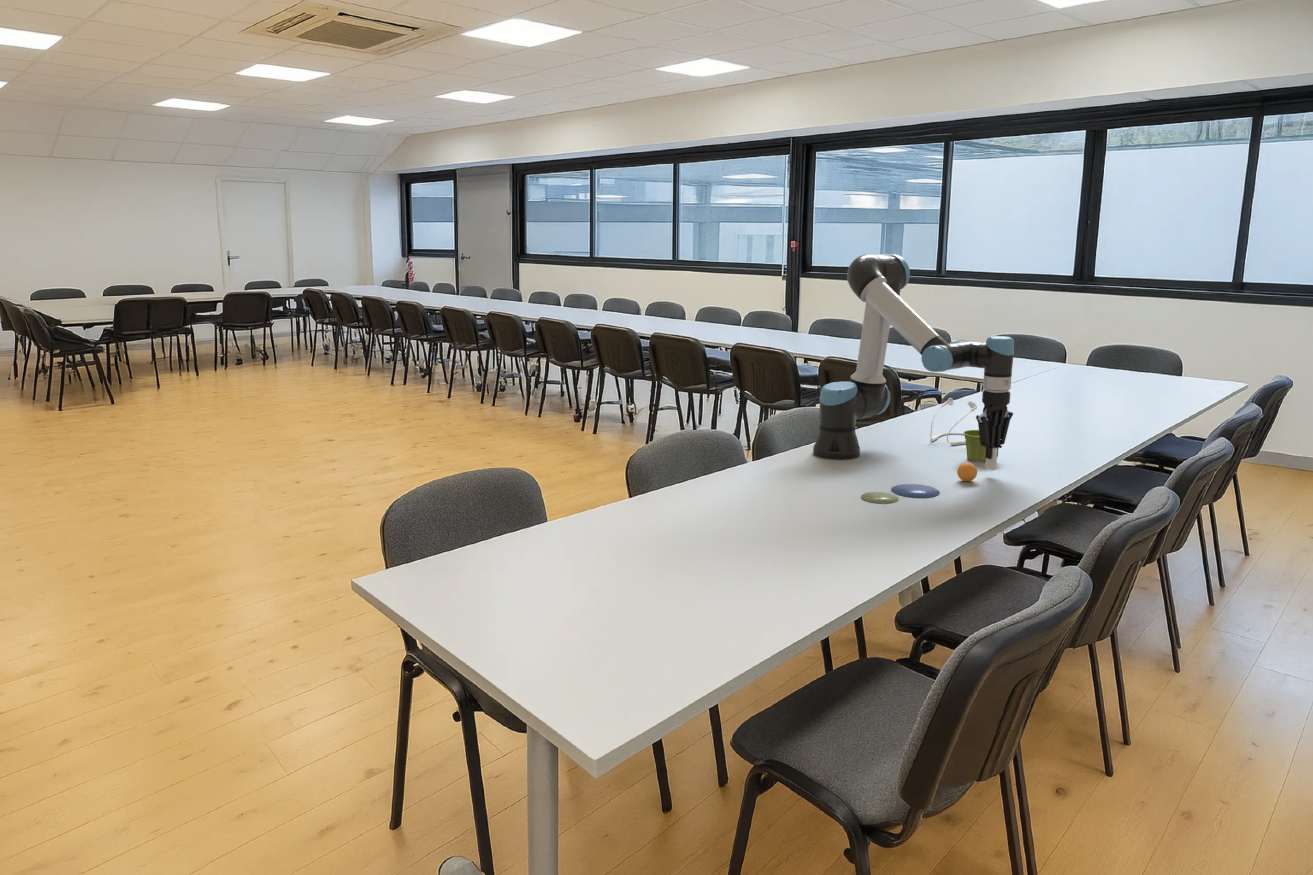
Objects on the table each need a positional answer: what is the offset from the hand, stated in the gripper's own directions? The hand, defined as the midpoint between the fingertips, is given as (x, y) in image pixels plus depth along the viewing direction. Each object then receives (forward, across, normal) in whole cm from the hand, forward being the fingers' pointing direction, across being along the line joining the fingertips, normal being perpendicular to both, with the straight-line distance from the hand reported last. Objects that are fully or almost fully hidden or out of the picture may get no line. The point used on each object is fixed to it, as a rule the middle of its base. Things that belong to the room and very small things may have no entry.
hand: (990, 468), depth 252 cm
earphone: (+3, +26, +39) cm, 47 cm away
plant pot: (+3, +12, +16) cm, 20 cm away
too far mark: (+2, -43, 0) cm, 43 cm away
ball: (0, -10, 0) cm, 10 cm away
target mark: (+2, -30, 0) cm, 30 cm away
